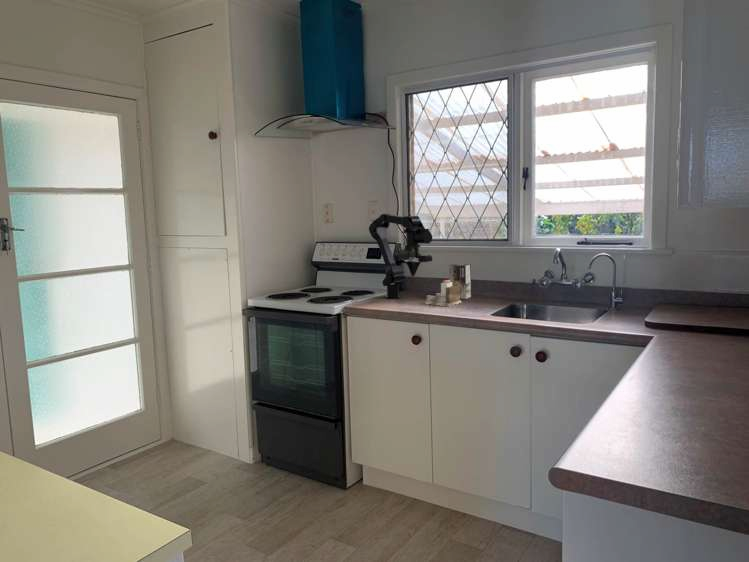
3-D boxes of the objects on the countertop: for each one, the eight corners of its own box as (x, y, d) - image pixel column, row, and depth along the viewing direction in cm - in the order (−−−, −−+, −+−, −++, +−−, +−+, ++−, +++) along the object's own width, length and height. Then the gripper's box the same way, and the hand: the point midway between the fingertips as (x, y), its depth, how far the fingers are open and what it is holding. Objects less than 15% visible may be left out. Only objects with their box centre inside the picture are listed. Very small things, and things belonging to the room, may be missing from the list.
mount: (425, 304, 269) (424, 286, 268) (438, 300, 277) (438, 283, 276) (447, 306, 261) (447, 288, 260) (461, 303, 269) (461, 285, 268)
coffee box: (471, 297, 285) (471, 264, 282) (466, 299, 279) (465, 265, 277) (454, 295, 289) (454, 263, 287) (448, 297, 284) (448, 264, 282)
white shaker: (439, 301, 267) (439, 280, 266) (446, 299, 271) (445, 279, 270) (447, 302, 264) (447, 281, 263) (454, 300, 268) (453, 280, 267)
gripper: (386, 243, 274) (386, 276, 276) (418, 244, 261) (418, 279, 264) (400, 241, 282) (401, 274, 284) (432, 243, 270) (433, 276, 272)
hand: (413, 276), depth 276 cm, fingers closed
